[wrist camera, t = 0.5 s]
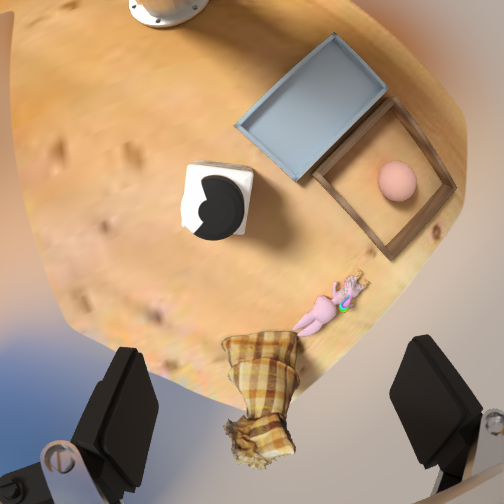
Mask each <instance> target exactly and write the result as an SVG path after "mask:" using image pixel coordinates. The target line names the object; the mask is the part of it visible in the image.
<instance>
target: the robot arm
mask: <svg viewBox="0 0 504 504" xmlns="http://www.w3.org/2000/svg"><path fill="white" fill-rule="evenodd" d="M208 2H209V0H129V9H130V12H131V14H132V15H133V16H134V18H135V19H136V20H137V21H139V22H140V23H142V24H144V25H147V26H150V27H156V28H157V27H170V26H174V25H178V24H181V23H183V22H185V21H188V20H189V19H191V18H193V17H194V16H196V15H197V14H198V13H199V12H201V11H202V10H203V9H204V7H205V6H206V5H207V4H208ZM195 9H196V10H195ZM159 22H160V23H159ZM389 395H390V399H391V401H392V403H393V406H394V408H395V410H396V412H397V414H398V416H399V418H400V420H401V423H402V425H403V427H404V429H405V432H406V434H407V436H408V438H409V440H410V443H411V445H412V447H413V450H414V452H415V454H416V456H417V459H418V461H419V463H420V464H423V465H424V467H425V469H428V468H431V467H433V466H436V465H437V464H438V465H439V467H440V470H439V473H438V476H437V479H436V482H435V485H434V487H433V490H432V493H431V495H430V497H428V498H426V499H423V500H421V501H418V502H416V503H413V504H504V412H503V411H502V410H499V409H489V410H487V411H486V412H485V413H484V414H482V413H481V411H482V410H483V407H482V406H481V404H480V403H479V401H478V400H477V399H476V397H475V395H474V394H473V393H472V391H471V390H470V388H469V387H468V385H467V384H466V383H465V381H464V380H463V378H462V377H461V376H460V374H459V373H458V372H457V370H456V369H455V368H454V366H453V365H452V363H451V362H450V361H449V360H448V358H447V357H446V356H445V354H444V353H443V352H442V351H441V349H440V348H439V347H438V346H437V344H436V343H435V342H434V340H433V339H432V338H431V336H429V335H427V334H426V335H421V336H415V337H414V338H413V339H412V341H410V342H409V344H408V346H407V349H406V352H405V354H404V357H403V360H402V362H401V365H400V367H399V370H398V372H397V375H396V377H395V380H394V382H393V384H392V386H391V389H390V393H389ZM158 409H159V405H158V401H157V398H156V395H155V392H154V389H153V386H152V383H151V380H150V377H149V374H148V371H147V367H146V364H145V361H144V357H143V355H142V353H138V350H137V349H136V348H129V347H119V349H118V350H117V352H116V354H115V356H114V358H113V360H112V362H111V364H110V366H109V368H108V370H107V372H106V374H105V376H104V378H103V380H102V381H100V382H98V384H97V385H96V387H95V389H94V391H93V393H92V395H91V397H90V399H89V401H88V404H87V406H86V408H85V410H84V412H83V414H82V417H81V419H80V421H79V423H78V425H77V428H76V430H75V432H74V435H73V437H72V439H71V442H67V441H63V440H58V441H53V442H51V443H49V444H48V445H47V446H46V447H45V448H44V449H43V451H42V453H41V457H40V462H38V463H35V464H33V465H30V466H27V467H25V468H22V469H19V470H16V471H13V472H10V473H7V474H5V475H3V476H2V477H1V478H0V504H124V502H123V501H122V498H123V494H124V491H127V492H132V493H135V489H136V487H140V485H141V482H142V478H143V473H144V469H145V464H146V459H147V455H148V451H149V447H150V443H151V438H152V434H153V430H154V426H155V422H156V418H157V414H158Z"/></svg>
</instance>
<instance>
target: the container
mask: <svg viewBox="0 0 504 504" xmlns="http://www.w3.org/2000/svg"><path fill="white" fill-rule="evenodd" d="M253 177H254V174H253V171H252V168H251V167H250V166H244V165H237V164H230V163H222V162H214V161H206V160H197V161H195V162H193V163H191V164H189V165H188V167H187V174H186V183H185V193H184V197H183V199H182V203H181V215H182V227H184V228H188V229H189V230H190V231H191V232H192V233H193V234H194V235H196V236H197V237H200V238H202V239H205V240H213V241H214V240H221V239H224V238H227V237H229V236H230V235H232V234H237V235H243V234H244V233H245V227H246V221H247V215H248V208H249V202H250V196H251V190H252V183H253Z"/></svg>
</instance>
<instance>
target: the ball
mask: <svg viewBox="0 0 504 504" xmlns="http://www.w3.org/2000/svg"><path fill="white" fill-rule="evenodd" d="M378 185H379V188H380V190H381V192H382V194H383V195H384V196H385V197H386V198H388V199H390V200H392V201H396V202H401V201H405V200H407V199H409V198H410V197H411V196H412V195H413V193H414V192H415V189H416V185H417V180H416V176H415V173H414V171H413V170H412V168H411V167H410V166H409V165H407V164H406V163H404V162H401V161H391V162H389V163H387V164H385V165H384V166H383V167H382V168H381V170H380V172H379V175H378Z"/></svg>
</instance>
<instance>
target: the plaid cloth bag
mask: <svg viewBox="0 0 504 504" xmlns="http://www.w3.org/2000/svg"><path fill="white" fill-rule="evenodd" d="M297 340H298V338H297V333H293V332H276V331H269V332H268V331H266V332H260V333H256V334H250V335H246V336H234V337H229V338H226V339H225V340H224V341H223V342H222V344H221V345H222V347H223V349H224V351H225V352H226V356H227V359H228V361H229V363H230V366H231V370H230V372H229V374H228V377H229V380H230V381H231V382H232V383H233V384H234V385H235V386H236V387H237V388H238V390H239V391H240V392H241V394H242V395H243V398H244V401H245V403H246V405H247V417H248V418H247V419H246V417H245V416H244V415H243V416H242V417H241V418H240V419H239V420H238V421H237V422H232V421H230V420H228V422H227V423H226V425H224V426H223V427H224V430H226V432H227V433H226V435H229V437H230V439H231V441H232V449H231V450H232V454H233V457H234V458H235V459H236V461H238V464H246V463H249V464H248V466H249V467H252V468H258V469H259V470H262V469H266V467H265V466H266V465H268V464H271V463H272V461H276V459H275V458H276V457H280V456H284V455H289V454H295V451H296V447H295V445H294V443H293V441H292V439H291V435H290V433H289V431H288V430H287V423H286V418H287V415H286V414H287V411H288V408H289V404H290V401H291V397H292V395H293V393H294V391H295V390H296V389H297V388H298V386H299V382H300V380H299V376H298V374H297V373H296V372H295V362H296V353H297V351H296V348H297Z"/></svg>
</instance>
